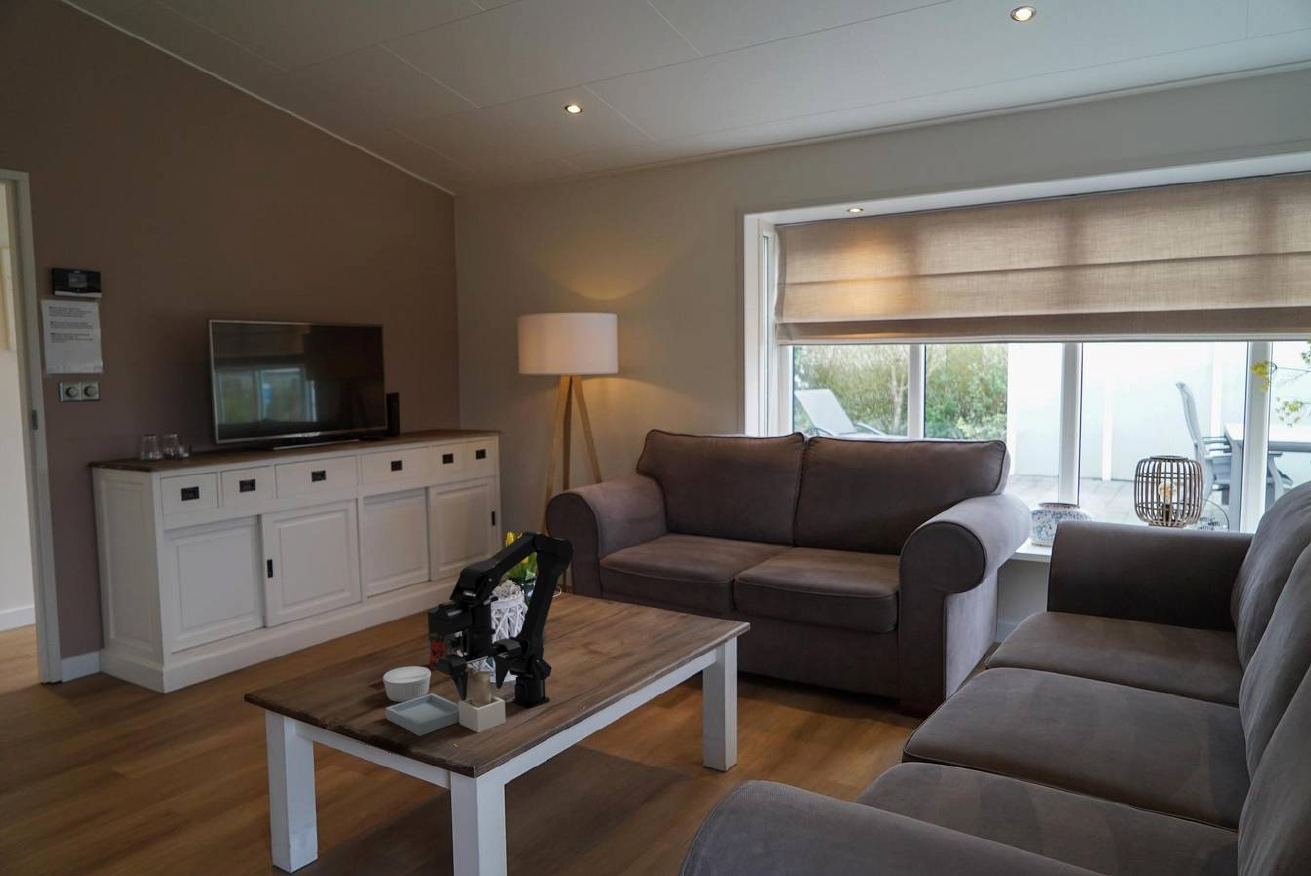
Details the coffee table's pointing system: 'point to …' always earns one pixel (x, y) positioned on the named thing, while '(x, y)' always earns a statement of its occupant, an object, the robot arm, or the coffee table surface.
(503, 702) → the white open box
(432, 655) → the deodorant
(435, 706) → the slate tray
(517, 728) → the coffee table surface
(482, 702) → the beech dowel
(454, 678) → the robot arm
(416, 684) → the ramekin
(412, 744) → the coffee table surface
